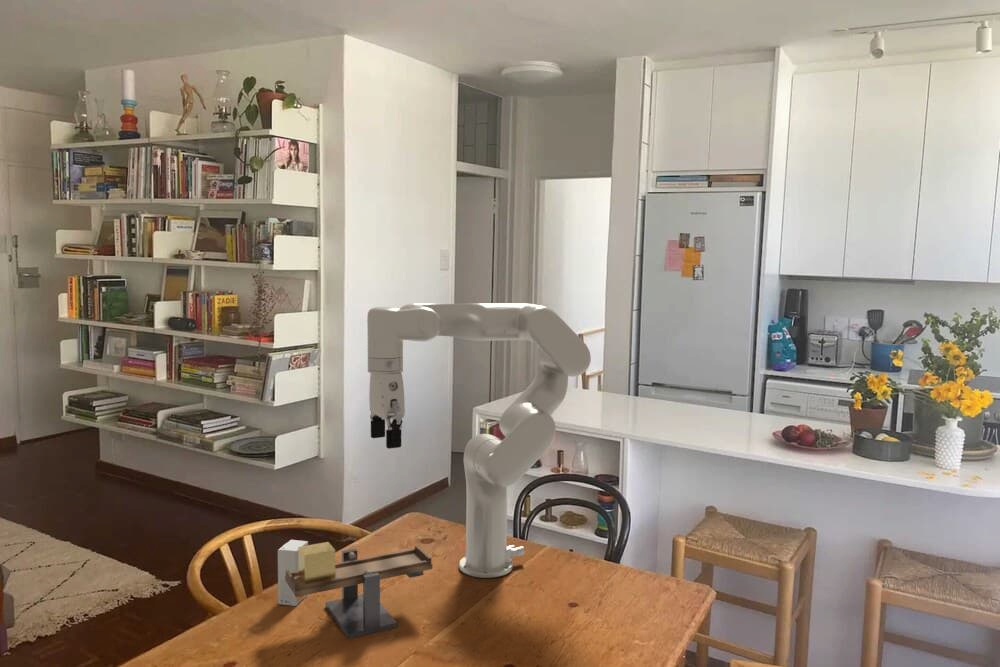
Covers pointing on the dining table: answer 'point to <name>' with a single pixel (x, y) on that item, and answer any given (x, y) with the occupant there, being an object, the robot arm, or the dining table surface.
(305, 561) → the block
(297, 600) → the skincare box
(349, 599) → the stand
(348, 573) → the beam
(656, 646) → the dining table surface
